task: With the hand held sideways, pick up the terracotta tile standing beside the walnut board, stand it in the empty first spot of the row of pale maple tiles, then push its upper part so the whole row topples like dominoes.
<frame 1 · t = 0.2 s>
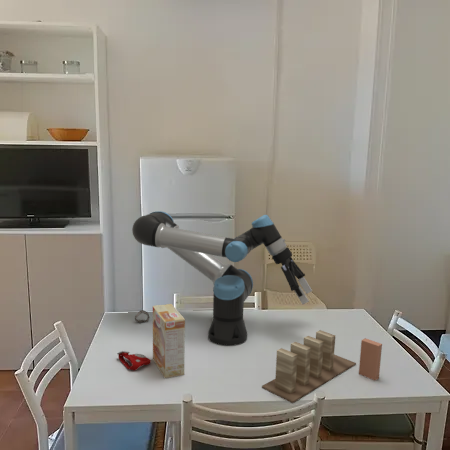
hand: (307, 297, 185), 15 cm above the table, tool tilted 35°, fingers open, 13 cm apart
maple tile 1: (323, 367, 160), point 1 cm above the table, touching board
tracker holder: (134, 364, 161), on the table
maple tile 2: (311, 373, 155), point 1 cm above the table, touching board
wristwatch: (142, 322, 196), on the table
maple tile 3: (298, 381, 150), point 1 cm above the table, touching board
board: (311, 375, 155), on the table
coffeecake box: (168, 367, 159), on the table
maple tile 4: (285, 388, 145), point 1 cm above the table, touching board
terracotta tile: (368, 376, 156), on the table
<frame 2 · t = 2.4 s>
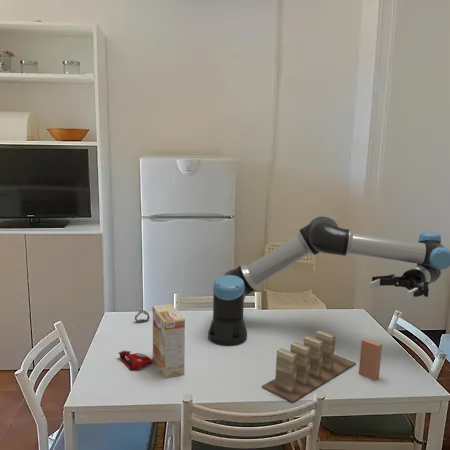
hand: (388, 291, 158), 27 cm above the table, tool horizontal, fingers open, 13 cm apart
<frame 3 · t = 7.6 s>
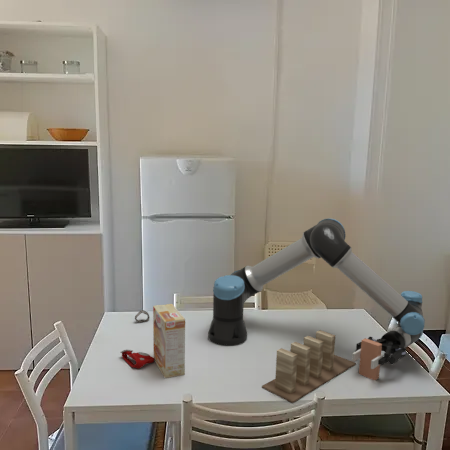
hand: (362, 361, 151), 7 cm above the table, tool horizontal, fingers closed on terracotta tile, 6 cm apart
tracker holder: (137, 362, 162), on the table
terracotta tile: (368, 376, 156), on the table, touching gripper
everything else where it was.
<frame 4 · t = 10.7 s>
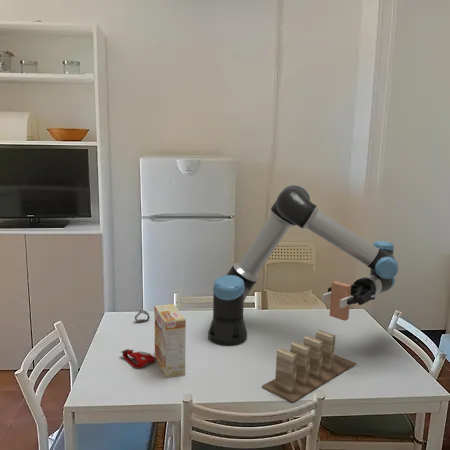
hand: (332, 301, 157), 24 cm above the table, tool horizontal, fingers closed on terracotta tile, 6 cm apart
terracotta tile: (338, 317, 161), point 17 cm above the table, touching gripper
when the fingers open (9 cm above the table, at t = 14.1 s): terracotta tile stays where it is, resting on board.
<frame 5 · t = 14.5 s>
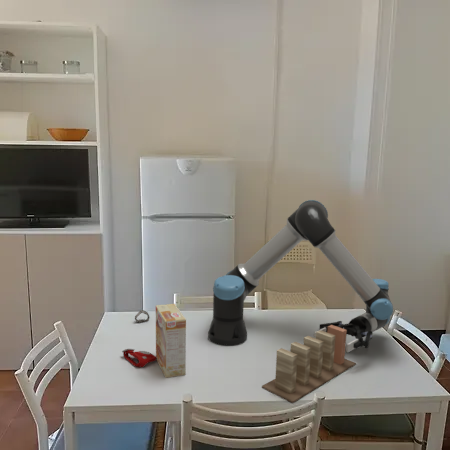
hand: (330, 342, 161), 9 cm above the table, tool horizontal, fingers open, 12 cm apart
terracotta tile: (334, 360, 165), point 1 cm above the table, touching board
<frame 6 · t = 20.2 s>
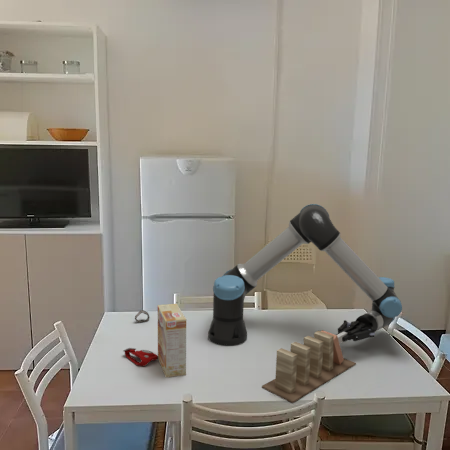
hand: (335, 340, 162), 8 cm above the table, tool horizontal, fingers closed
maple tile 1: (323, 366, 160), point 1 cm above the table, tilted 6°, touching board
terracotta tile: (334, 359, 164), point 1 cm above the table, tilted 28°, touching board
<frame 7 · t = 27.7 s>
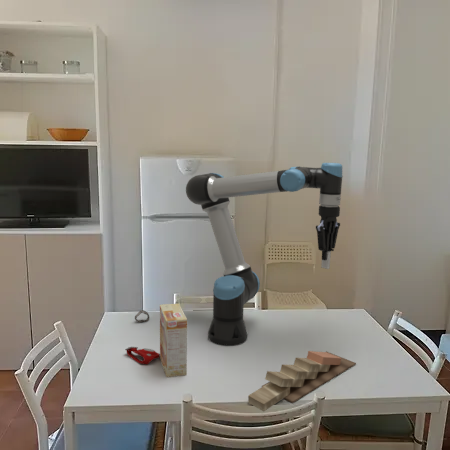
hand: (325, 267, 176), 29 cm above the table, tool pointing down, fingers closed
maple tile 1: (321, 365, 159), point 2 cm above the table, tilted 70°, touching board, maple tile 2, terracotta tile
tracker holder: (143, 358, 165), on the table
maple tile 2: (309, 371, 154), point 2 cm above the table, tilted 70°, touching board, maple tile 1, maple tile 3
maple tile 3: (295, 379, 149), point 2 cm above the table, tilted 69°, touching board, maple tile 2, maple tile 4
maple tile 4: (282, 386, 144), point 2 cm above the table, tilted 94°, touching board, maple tile 3
terracotta tile: (333, 358, 164), point 2 cm above the table, tilted 70°, touching board, maple tile 1
at the end: maple tile 4 tilted 94°; terracotta tile tilted 70°; terracotta tile 7.1 cm from the maple tile 1 (horizontally) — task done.
